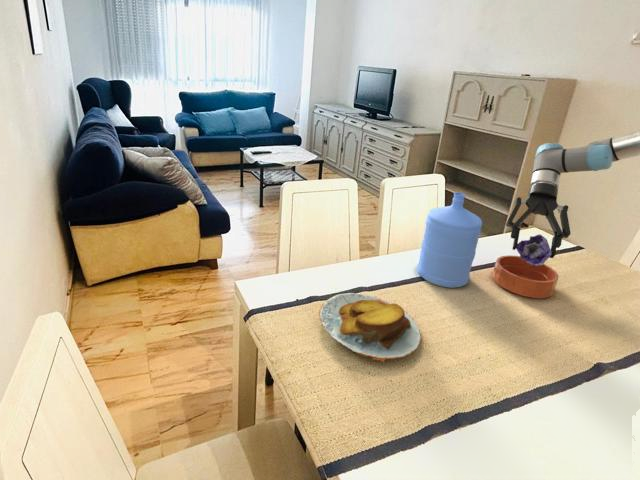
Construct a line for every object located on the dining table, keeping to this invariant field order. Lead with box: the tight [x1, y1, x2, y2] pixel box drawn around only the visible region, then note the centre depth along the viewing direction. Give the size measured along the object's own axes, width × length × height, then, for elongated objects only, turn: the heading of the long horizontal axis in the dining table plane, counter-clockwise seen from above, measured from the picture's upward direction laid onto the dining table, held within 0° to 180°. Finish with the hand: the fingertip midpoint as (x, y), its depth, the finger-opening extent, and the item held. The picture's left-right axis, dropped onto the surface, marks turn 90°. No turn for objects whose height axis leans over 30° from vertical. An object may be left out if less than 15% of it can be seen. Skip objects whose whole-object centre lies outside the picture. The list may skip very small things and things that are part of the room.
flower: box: [515, 234, 552, 266], centre depth 117 cm, size 9×9×10 cm
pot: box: [491, 255, 559, 299], centre depth 121 cm, size 17×17×6 cm
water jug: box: [416, 192, 483, 289], centre depth 120 cm, size 16×16×28 cm
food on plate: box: [318, 292, 422, 362], centre depth 97 cm, size 25×25×7 cm
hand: (533, 252), depth 114 cm, fingers closed on flower, 9 cm apart
